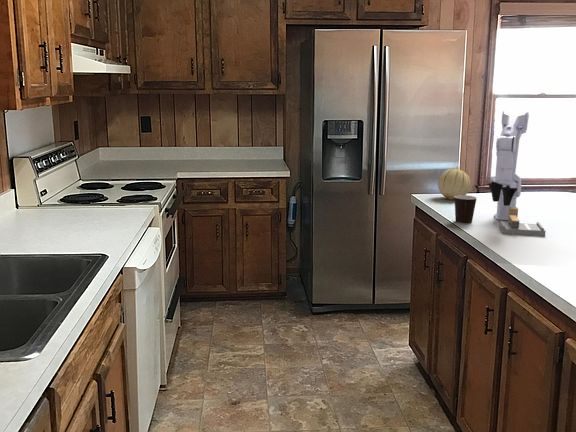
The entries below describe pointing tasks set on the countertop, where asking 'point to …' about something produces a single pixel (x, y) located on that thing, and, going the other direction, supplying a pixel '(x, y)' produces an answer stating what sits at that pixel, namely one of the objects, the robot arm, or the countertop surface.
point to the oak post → (513, 212)
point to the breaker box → (522, 229)
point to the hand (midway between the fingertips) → (501, 203)
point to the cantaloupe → (453, 183)
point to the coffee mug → (464, 208)
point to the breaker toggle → (513, 221)
